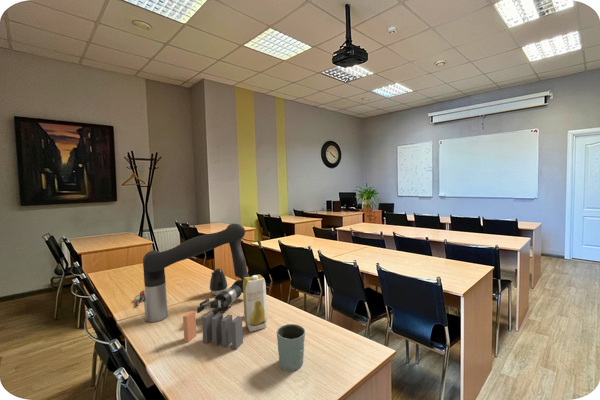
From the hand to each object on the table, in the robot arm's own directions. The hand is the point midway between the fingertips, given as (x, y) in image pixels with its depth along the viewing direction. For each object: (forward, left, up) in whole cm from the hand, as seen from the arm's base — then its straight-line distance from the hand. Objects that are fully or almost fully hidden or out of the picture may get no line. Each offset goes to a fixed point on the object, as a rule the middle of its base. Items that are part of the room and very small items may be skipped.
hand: (205, 312), depth 127 cm
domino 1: (-5, -9, -7) cm, 12 cm away
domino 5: (+15, -19, -7) cm, 25 cm away
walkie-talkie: (-40, +41, -8) cm, 58 cm away
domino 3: (+7, -14, -7) cm, 17 cm away
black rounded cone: (+2, +39, -7) cm, 40 cm away
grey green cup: (+35, -35, -7) cm, 49 cm away
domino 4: (+11, -16, -7) cm, 21 cm away
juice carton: (+23, -6, -7) cm, 24 cm away
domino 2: (+3, -12, -7) cm, 14 cm away
